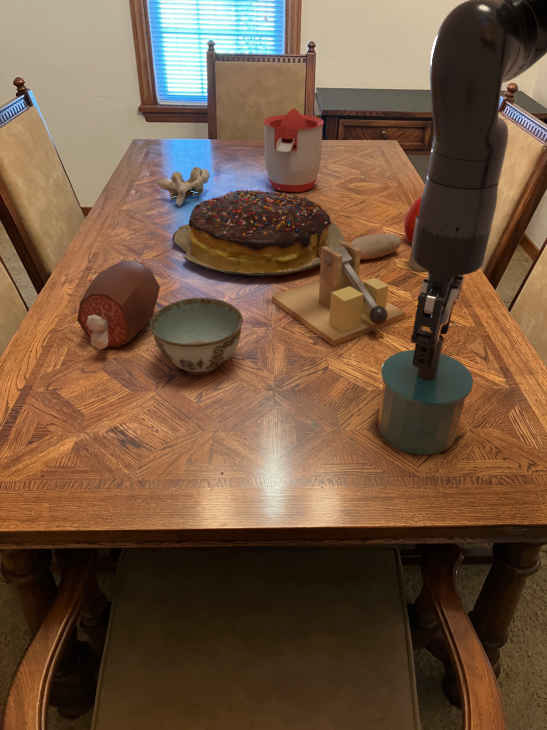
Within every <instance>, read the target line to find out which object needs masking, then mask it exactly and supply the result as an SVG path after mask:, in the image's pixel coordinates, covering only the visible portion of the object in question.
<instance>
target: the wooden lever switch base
mask: <svg viewBox="0 0 547 730" xmlns="http://www.w3.org/2000/svg"><path fill="white" fill-rule="evenodd" d="M350 243H351V242H350ZM350 243H349V242H348V241H346V240H345V241H342V242H340V247H343V246H344V247H345V248H346V250H347V251H348V253H349V254H350V256H351V257H352V260H351V262H350V263H349V264H350V265H351V267H352V268H353V270H354V271H355V273H356V274H357V276H358V277H359V275H360V265H361V259H360V256H361V249H359V248H357V247H355V246H354V245H352V244H350ZM342 256H343V255H341V254H340V253H338V252H336V251H334V250H332V249H330V248H329V247H327V246H324V247H322V248H321V264H320V265H319V266H320V269H319V280H316V281H313V282H310V283H306V284H303V285H301V286H297V287H295V288H291V289H288V290H284V291H281V292H279V293H276V294H272V295H271V302H272V303H274V304H275V305H276V306H278V307H279V308H280V309H282V310H283V311H284V312H285V313H287V314H289V315H290V316H291V317H293V318H294V319H295V320H296V321H298V322H300V323H301V324H303V325H304V326H305V327H306V328H307V329H309V330H311V331H312V332H313V333H314V334H316V335H317V336H318V337H320V338H321V339H323V340H324V341H325V342H326V343H328V344H329V345H331V346H332V347H335V346H338V345H340V344H343V343H345V342H348V341H350V340H353V339H355V338H358V337H360V336H363V335H365V334H369V333H370V332H373V331H376V330H378V329H381V328H383V327H386V326H388V325H392V324H393V323H397V322H398V321H401V320H404V319H405V317H406V311H403V310H402V309H401V308H399V307H397V306H396V305H394V304H392V303H390V302H388V301H387V302H386V310H387V313H388V317H387V320H386V321H385V322H384V323H382V324H374V323H373V322H372V321H371V320H370V318H369V317H367V316H366V315H364V314H363V313H362V314H361V323H360V326H358V327H356V328H353V329H350V330H348V331H345V332H343V333H341V332H340V331H339V330H337V329H336V328H334V327H333V326H331V325H330V324H329V318H330V304H331V292H334V291H337V290H340V289H343V288H346V287H349V286H351V287H352V288H354V289H355V287H354V286H353V284H352V283H351V281H350V280H349V278H348V277H347V275H346V274H345V272H344V270H343V269H342ZM359 278H360V277H359Z"/></svg>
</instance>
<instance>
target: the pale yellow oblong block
mask: <svg viewBox="0 0 547 730" xmlns="http://www.w3.org/2000/svg"><path fill="white" fill-rule="evenodd" d="M363 295H364V294H362V293H361V292H359V291H357V290H356V289H354V288H352V287H351V286H349V287H346V288H343V289H340V290H337V291H334V292H331V304H330V318H329V324H330V325H331V326H333V327H334V328H336V329H337V330H339V331H340V332H341V333H343V332H345V331H348V330H350V329H353V328H356V327H358V326H360V323H361V314H362V304H363Z"/></svg>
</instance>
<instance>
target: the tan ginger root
mask: <svg viewBox="0 0 547 730" xmlns="http://www.w3.org/2000/svg"><path fill="white" fill-rule="evenodd" d="M210 177H211V175H210V172H209V171H208V169H207V168H200V167H199V166H195V167H193V168H192V169H191V170H190V175H189V178H188V179H187V180H184V178H183V175H182V173H181V172H180V171H173V172H172V174H171V176H170V178H168V177H164V178H159V179H157V185H158V186H159V188H160V189H161V190H164V191H167V192H168V193H169V200H170V202H173V201H175V205H177V206H178V208H181V207H182V205H183V203H184V202H185V201H186V199H187V198H188V197H195V196H196V197H197V196H201V195H202V194H203V193H204V192H203V191H204V190H205V187H204V184H205V185H206V184H207V183H208V182H209V179H210ZM191 191H194V192H198V193H194V192H191ZM193 193H194V194H193ZM174 196H177V197H174ZM170 197H171V198H170ZM172 197H174V198H172ZM176 202H177V203H176ZM178 203H179V204H178ZM181 203H182V204H181Z"/></svg>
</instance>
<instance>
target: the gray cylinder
mask: <svg viewBox="0 0 547 730" xmlns="http://www.w3.org/2000/svg"><path fill="white" fill-rule="evenodd" d="M418 217H419V215H418V216H416V221H415V227H414V234H413V240H412V243H411V248H410V254H409V261H408V267H409V268H410V269H412V270H414V271H418V272H426V271H427V270H426V269H424V268H422V267H420V266H419V265H418V264H417V263H416V262H415V260H414V258H413V251H414V244H415V238H416V231H417V224H418ZM427 272H428V271H427Z"/></svg>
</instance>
